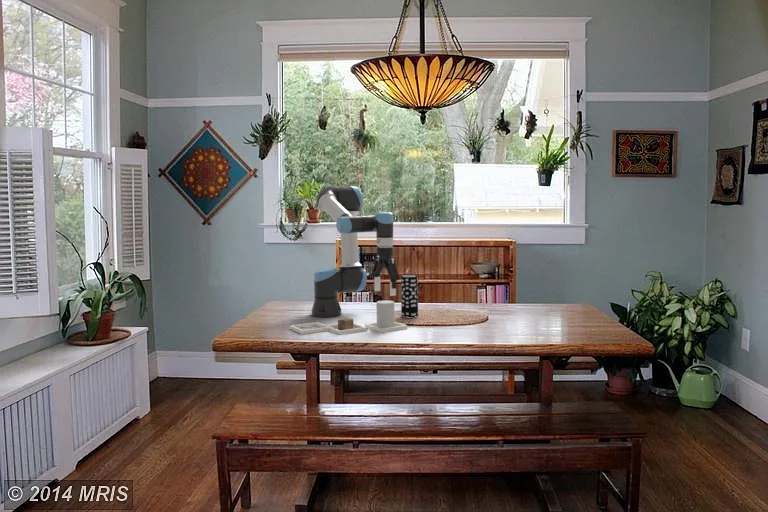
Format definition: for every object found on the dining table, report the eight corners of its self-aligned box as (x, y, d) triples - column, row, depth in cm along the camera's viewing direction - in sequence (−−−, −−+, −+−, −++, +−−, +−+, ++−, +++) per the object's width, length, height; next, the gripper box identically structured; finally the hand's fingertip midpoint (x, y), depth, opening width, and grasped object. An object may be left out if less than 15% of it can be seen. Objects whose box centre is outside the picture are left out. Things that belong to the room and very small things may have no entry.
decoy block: (337, 330, 305) (337, 319, 305) (345, 328, 309) (345, 317, 308) (346, 331, 302) (345, 320, 301) (353, 329, 306) (353, 318, 305)
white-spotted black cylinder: (420, 315, 337) (419, 275, 335) (415, 318, 330) (415, 277, 328) (404, 314, 340) (403, 274, 338) (399, 317, 332) (398, 277, 330)
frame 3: (365, 327, 311) (365, 323, 310) (391, 323, 318) (391, 320, 318) (380, 332, 299) (380, 329, 298) (407, 328, 306) (407, 325, 306)
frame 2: (324, 329, 308) (324, 325, 308) (352, 325, 315) (352, 322, 315) (339, 334, 296) (338, 331, 296) (366, 330, 303) (366, 327, 303)
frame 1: (289, 328, 310) (289, 325, 310) (317, 325, 317) (317, 321, 317) (302, 334, 298) (302, 330, 298) (330, 330, 305) (330, 327, 305)
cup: (392, 330, 303) (392, 303, 302) (375, 329, 305) (374, 303, 304) (396, 326, 311) (395, 300, 310) (378, 325, 313) (378, 300, 312)
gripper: (363, 244, 313) (364, 289, 316) (392, 249, 292) (392, 298, 294) (377, 243, 317) (378, 288, 320) (406, 248, 296) (406, 296, 298)
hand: (385, 293), depth 307 cm, fingers open, 13 cm apart
